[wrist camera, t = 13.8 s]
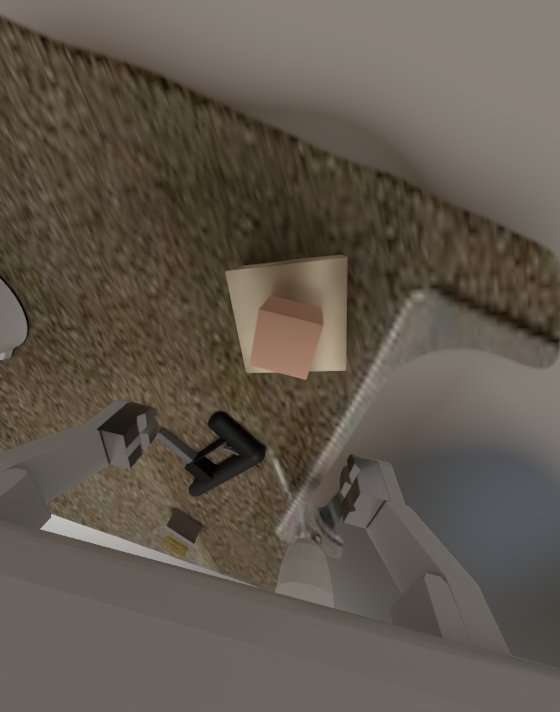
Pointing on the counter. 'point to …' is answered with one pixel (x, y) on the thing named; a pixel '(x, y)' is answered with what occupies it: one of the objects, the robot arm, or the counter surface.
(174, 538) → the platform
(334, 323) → the birch box
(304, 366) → the terracotta block
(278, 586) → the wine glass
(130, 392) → the counter surface
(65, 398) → the counter surface
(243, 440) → the black clamp
